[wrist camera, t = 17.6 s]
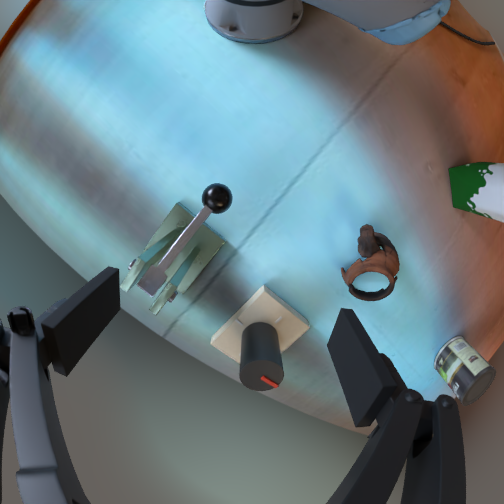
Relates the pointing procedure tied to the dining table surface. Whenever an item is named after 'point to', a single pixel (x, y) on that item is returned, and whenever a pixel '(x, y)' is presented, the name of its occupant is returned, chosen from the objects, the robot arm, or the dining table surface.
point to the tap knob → (260, 357)
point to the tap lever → (187, 236)
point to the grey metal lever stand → (185, 263)
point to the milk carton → (479, 189)
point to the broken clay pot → (373, 263)
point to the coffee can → (464, 370)
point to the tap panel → (260, 310)
